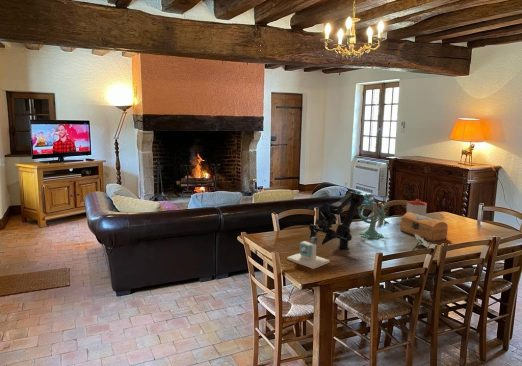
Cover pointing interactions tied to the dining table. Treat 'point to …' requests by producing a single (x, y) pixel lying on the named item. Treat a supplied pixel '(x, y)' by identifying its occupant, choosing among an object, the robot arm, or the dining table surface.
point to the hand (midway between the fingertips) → (316, 242)
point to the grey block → (312, 240)
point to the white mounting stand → (309, 258)
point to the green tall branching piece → (371, 232)
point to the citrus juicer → (416, 207)
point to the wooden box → (424, 226)
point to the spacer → (307, 249)
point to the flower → (420, 240)
